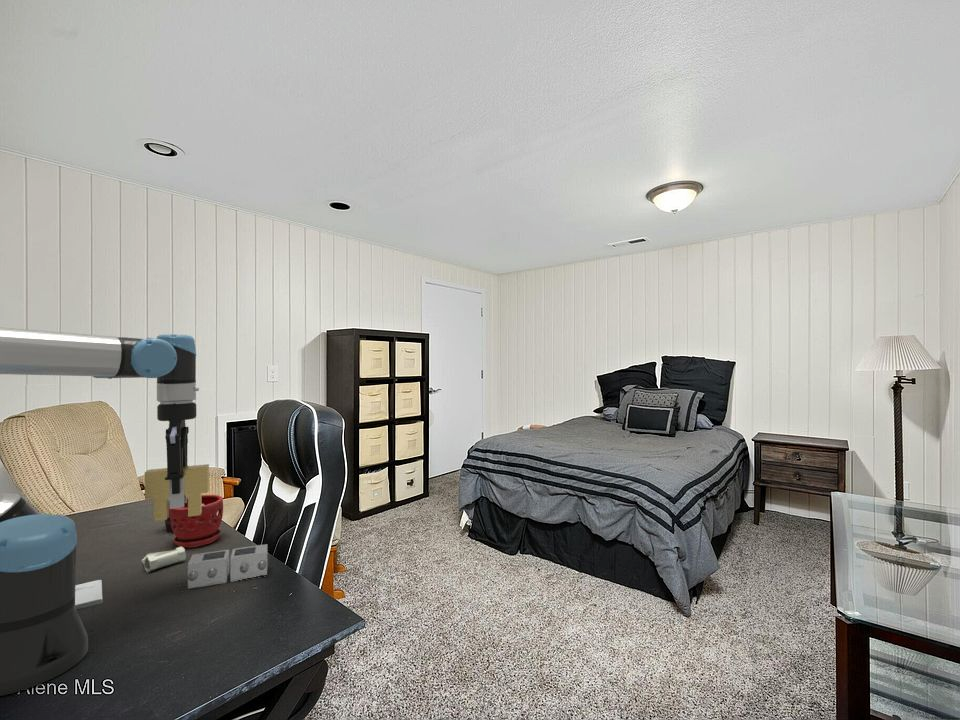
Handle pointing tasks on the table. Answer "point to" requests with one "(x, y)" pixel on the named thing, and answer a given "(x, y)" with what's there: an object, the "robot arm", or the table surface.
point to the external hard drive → (88, 594)
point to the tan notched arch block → (193, 487)
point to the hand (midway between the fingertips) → (178, 505)
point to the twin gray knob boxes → (226, 566)
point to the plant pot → (197, 523)
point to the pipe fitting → (163, 559)
